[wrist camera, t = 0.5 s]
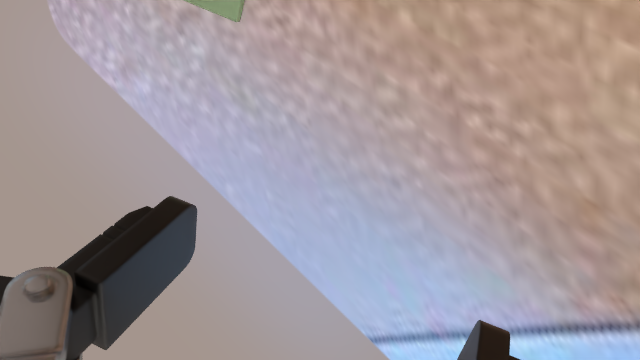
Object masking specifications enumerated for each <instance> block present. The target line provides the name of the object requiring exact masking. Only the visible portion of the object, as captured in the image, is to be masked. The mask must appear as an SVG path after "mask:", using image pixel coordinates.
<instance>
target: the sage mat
mask: <svg viewBox="0 0 640 360" xmlns="http://www.w3.org/2000/svg"><path fill="white" fill-rule="evenodd" d="M184 1H186V2H189V3H191V4H194V5H196V6H199V7H201V8H203V9H206V10H208V11H211V12H213V13H216V14H218V15H220V16H223V17H225V18H228V19H230V20H233V21H235V22H239V21H240V18H241V14H242V9H243V5H244V0H184Z"/></svg>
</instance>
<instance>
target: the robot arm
mask: <svg viewBox="0 0 640 360" xmlns="http://www.w3.org/2000/svg"><path fill="white" fill-rule="evenodd" d="M196 221H197V208H196V206H195V205H193V204H190V203H188V202H185V201H183V200H180V199H178V198H175V197H172V196H169V197H167V198H166V199H164V200H163V201H162V202H161V203H159V204H158V205H157V206H156V207H154V208H151V207H148V206H146V207H143V208H141V209H138V210H135V211H133V212H130V213H128V214H127V215H125V216H124V217H123V218H121V219H120V220H119V221H118V222H116V223H115V225H114V226H111V227H110V228H108V229H107V230H106V231H104V233H103V235H99V236H98V237H97V238H95V239H94V240H93V241H91V242H90V243H89V244H88V245H86V246H85V247H84V248H82V249H81V250H80V251H78V252H77V253H76V254H74V255H73V256H72V257H70V258H69V259H68V260H66V261H65V262H64V263H62V264H61V265H60V266H58V267H57V268H55V267H39V268H35V269H31V270H28V271H25V272H23V273H21V274H20V275H18V276H16V277H15V278H12V277H5V276H0V360H82V352H83V351H84V350H85V349H86V348H87V347H88V346H89V345H90V344H91V343H92V344H94V345H96V346H98V347H100V348H102V349H104V350H107V349H108V348H109V347H110V346H111V345H112V344H113V343H114V342H115V340H117V339H118V338H119V336H120V335H121V334H122V333H123V332H124V331H125V330H126V329H127V328H128V327H129V326H130V325H131V324H132V323H133V322H134V320H136V319H137V318H138V317H139V316H140V314H141V313H142V312H143V311H144V310H145V309H146V308H147V307H148V306H149V305H150V304H151V303H152V302H153V301H154V300H155V298H157V297H158V296H159V295H160V294H161V293H162V291H163V290H164V289H165V288H166V287H167V286H168V285H169V284H170V283H171V282H172V281H173V280H174V279H175V278H176V277H177V276H178V275H179V274H180V273H181V272H182V271H183V269H184V268H185V267H186V266H187V264H188V263H189V262H190V260H191V258H192V256H193V253H194V250H195V241H196ZM509 349H510V333H509V332H508V331H506V330H503V329H501V328H498V327H496V326H493V325H491V324H488V323H486V322H483V321H481V320H479V321H478V322H477V323H476V325H475V326H474V328H473V330H472V332H471V334H470V336H469V338H468V340H467V342H466V344H465V345H464V347H463V349H462V351H461V353H460V355H459V357H458V359H457V360H520V359H517V358H515V357H512V356H510V355H509Z"/></svg>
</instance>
